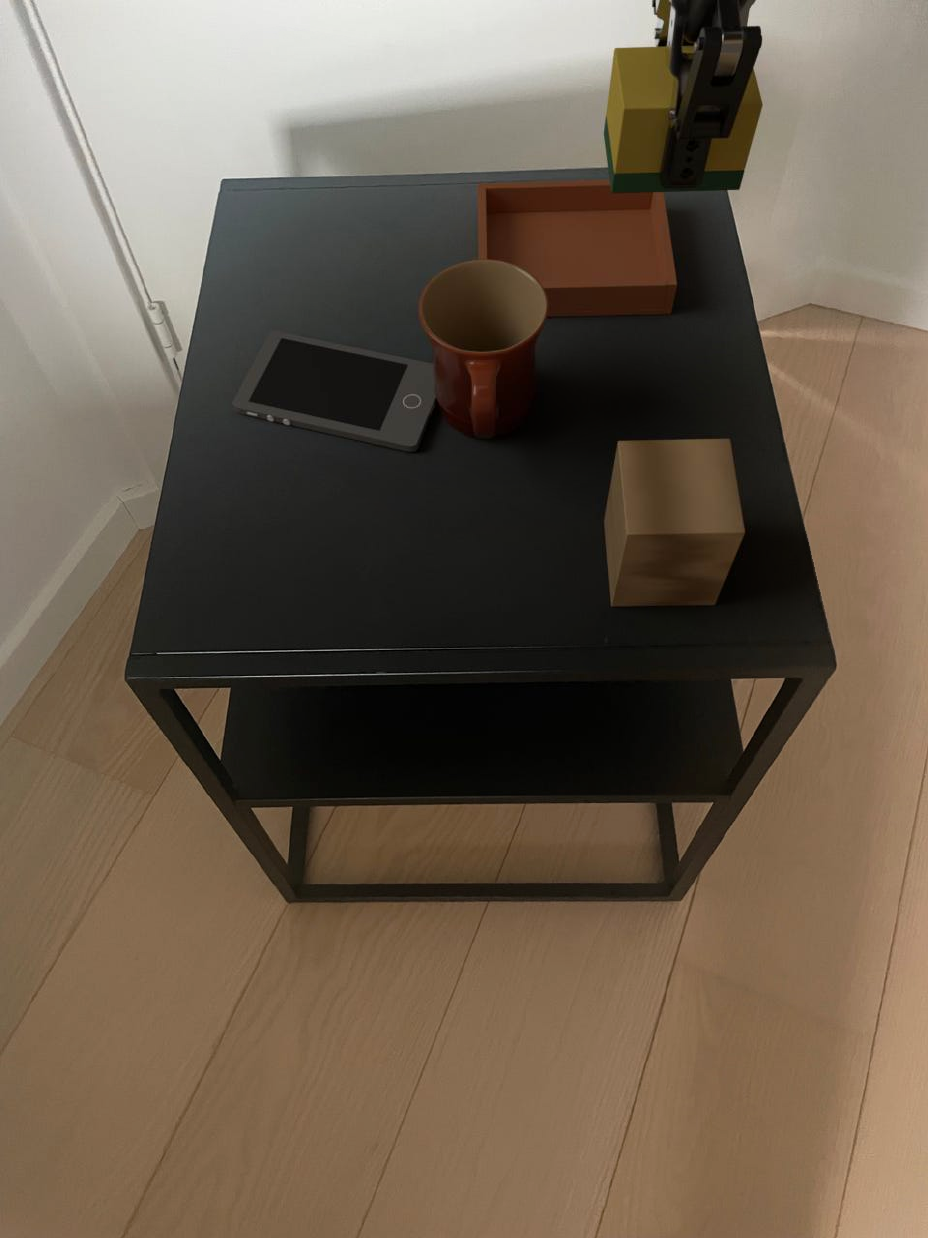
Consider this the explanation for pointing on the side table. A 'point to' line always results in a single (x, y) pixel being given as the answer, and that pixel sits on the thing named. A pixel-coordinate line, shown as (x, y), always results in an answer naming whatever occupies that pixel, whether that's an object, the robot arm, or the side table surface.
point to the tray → (582, 244)
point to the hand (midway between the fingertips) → (673, 147)
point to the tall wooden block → (671, 522)
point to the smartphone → (339, 391)
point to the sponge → (665, 126)
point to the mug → (484, 343)
